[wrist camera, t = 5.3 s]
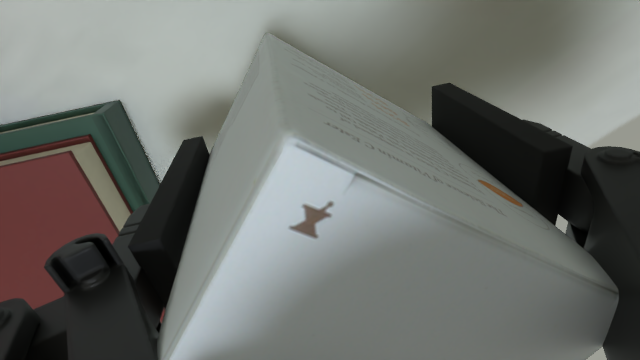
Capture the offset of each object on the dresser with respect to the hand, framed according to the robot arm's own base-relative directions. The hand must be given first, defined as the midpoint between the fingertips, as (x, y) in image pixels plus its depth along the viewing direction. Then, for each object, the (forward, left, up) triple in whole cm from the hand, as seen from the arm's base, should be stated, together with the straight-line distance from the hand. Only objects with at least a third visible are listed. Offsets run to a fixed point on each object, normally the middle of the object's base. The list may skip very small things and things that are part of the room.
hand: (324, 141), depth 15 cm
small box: (0, 0, -1) cm, 1 cm away
